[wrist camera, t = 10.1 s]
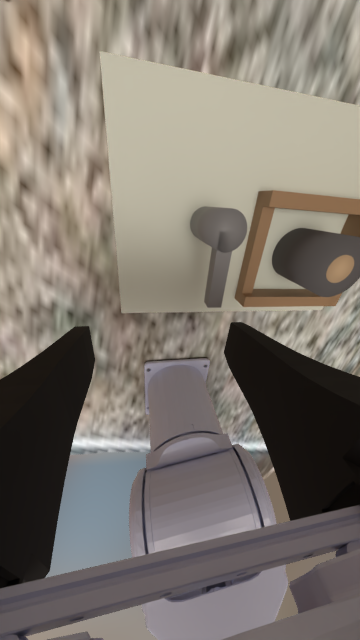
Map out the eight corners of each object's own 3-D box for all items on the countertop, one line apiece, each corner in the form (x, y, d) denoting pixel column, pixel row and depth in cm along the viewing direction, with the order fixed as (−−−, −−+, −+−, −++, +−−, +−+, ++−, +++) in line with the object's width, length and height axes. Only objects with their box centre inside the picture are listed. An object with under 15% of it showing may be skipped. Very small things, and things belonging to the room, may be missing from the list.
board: (314, 305, 24) (363, 334, 18) (122, 307, 20) (115, 345, 14) (396, 122, 16) (524, 83, 11) (103, 64, 12) (72, -47, 7)
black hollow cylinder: (304, 277, 20) (348, 298, 16) (265, 275, 19) (301, 296, 15) (324, 230, 18) (383, 240, 14) (282, 225, 17) (330, 233, 13)
